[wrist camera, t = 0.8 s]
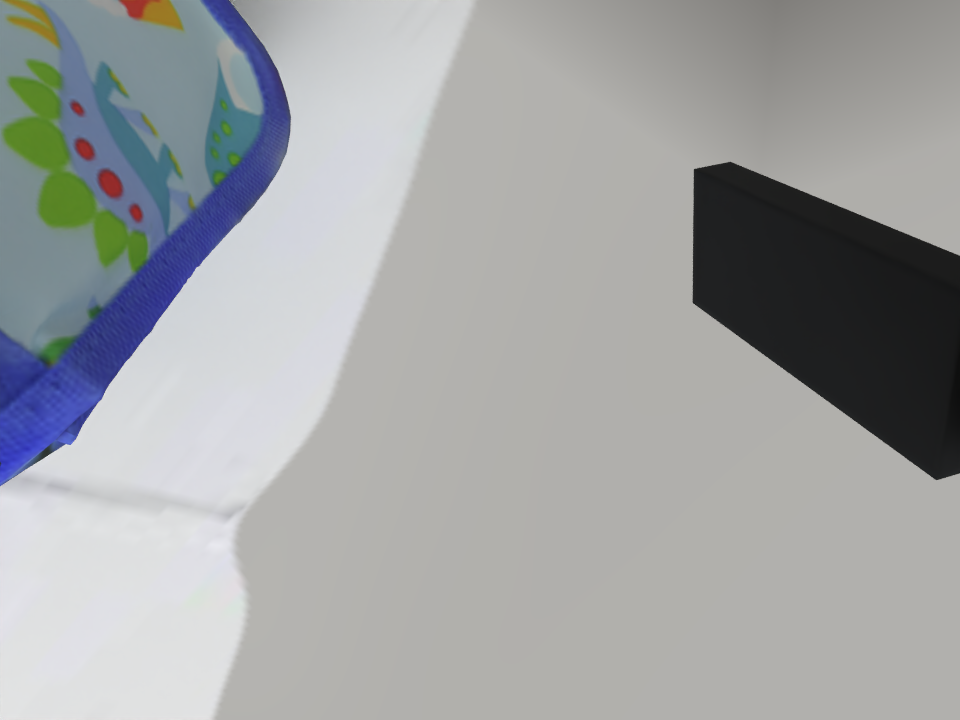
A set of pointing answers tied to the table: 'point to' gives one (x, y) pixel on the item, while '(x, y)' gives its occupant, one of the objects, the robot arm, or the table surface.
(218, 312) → the table surface
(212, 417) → the table surface
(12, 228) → the lunch bag
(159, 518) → the table surface
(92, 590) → the table surface
